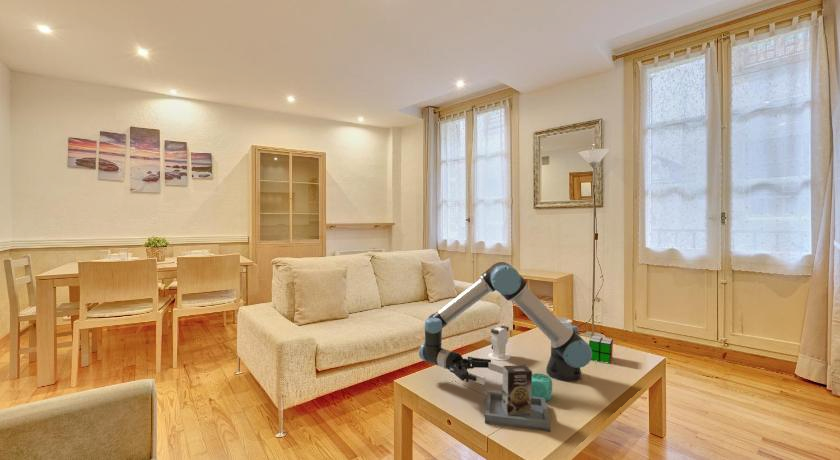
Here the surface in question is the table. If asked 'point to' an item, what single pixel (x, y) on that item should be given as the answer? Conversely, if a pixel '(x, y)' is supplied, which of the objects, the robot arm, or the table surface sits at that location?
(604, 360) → the puzzle cube
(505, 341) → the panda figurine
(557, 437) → the table surface
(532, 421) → the tray
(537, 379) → the decorative dice
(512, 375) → the coffee box
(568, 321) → the jar
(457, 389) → the table surface
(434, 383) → the table surface
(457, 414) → the table surface
